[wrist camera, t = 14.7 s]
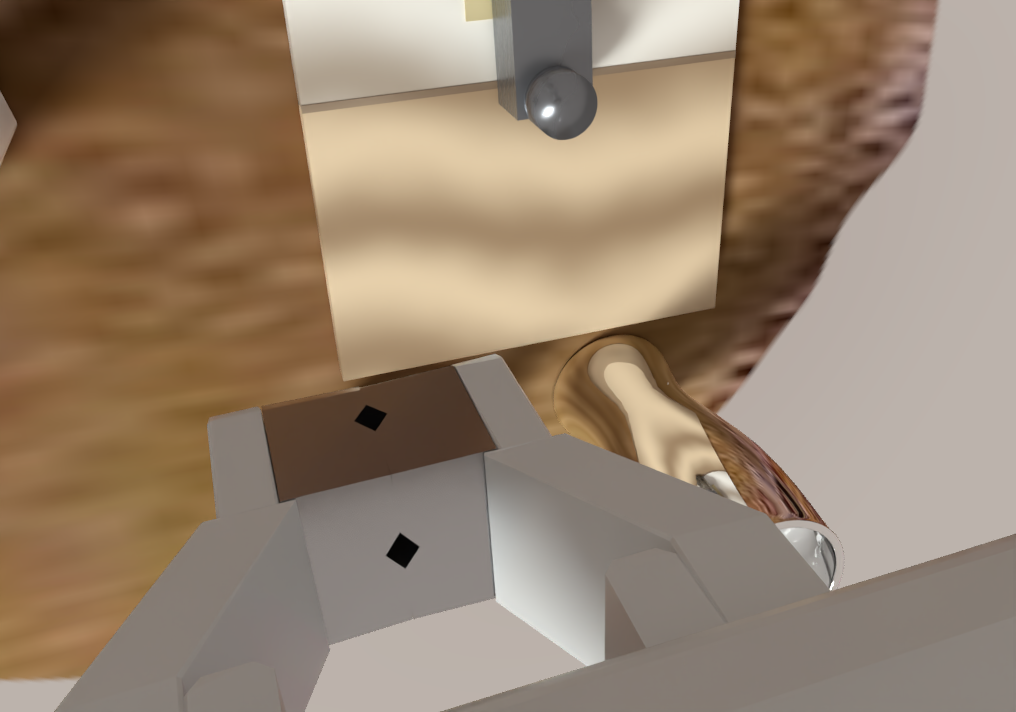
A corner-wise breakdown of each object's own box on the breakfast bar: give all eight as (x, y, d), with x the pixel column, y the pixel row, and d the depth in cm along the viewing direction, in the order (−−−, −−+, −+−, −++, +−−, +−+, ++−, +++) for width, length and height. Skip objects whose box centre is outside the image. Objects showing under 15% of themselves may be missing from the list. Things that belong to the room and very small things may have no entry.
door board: (239, -275, 30) (248, -283, 27) (748, -292, 34) (802, -300, 32) (340, 370, 43) (353, 411, 40) (705, 298, 47) (740, 331, 44)
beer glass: (647, 448, 51) (806, 658, 38) (527, 441, 48) (656, 665, 35) (691, 332, 48) (879, 518, 35) (567, 318, 45) (722, 514, 33)
